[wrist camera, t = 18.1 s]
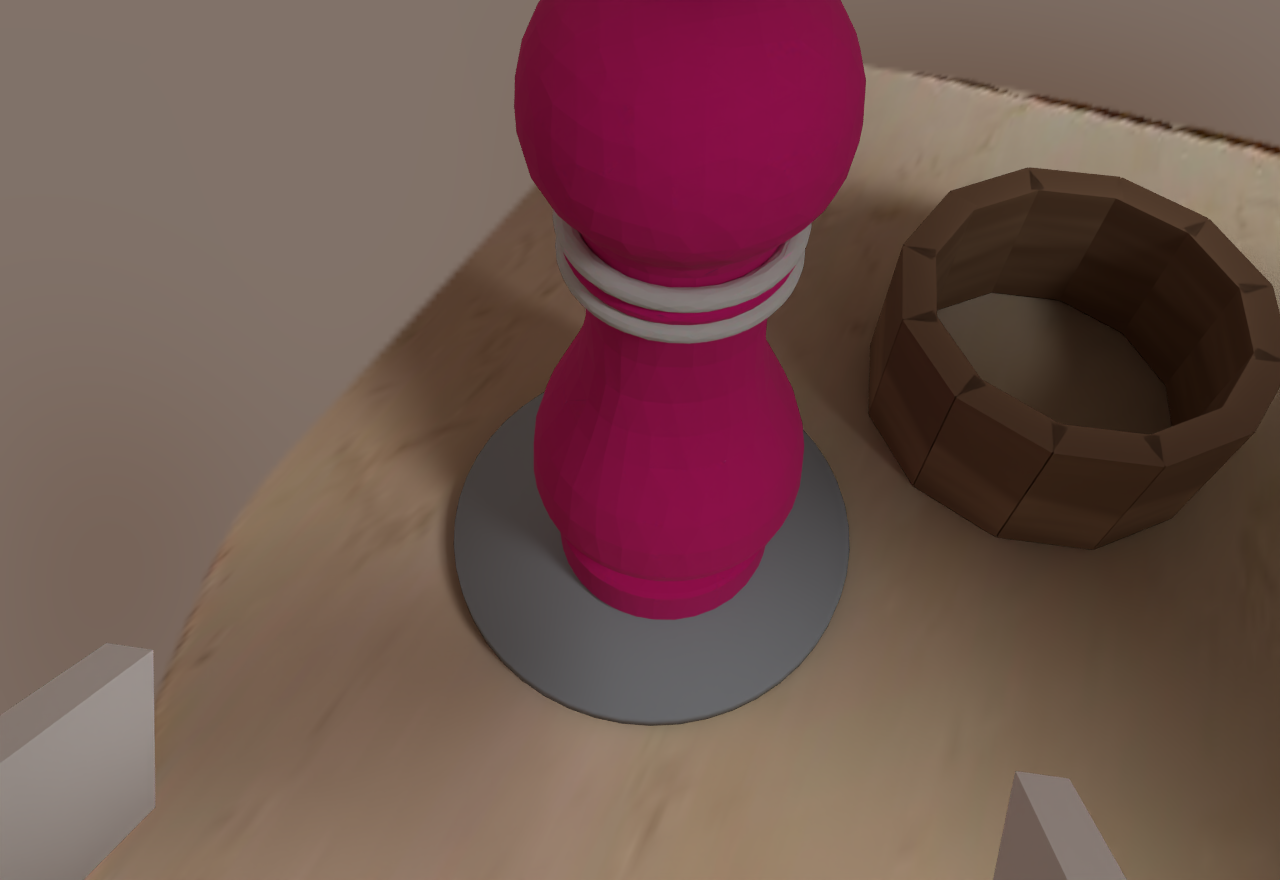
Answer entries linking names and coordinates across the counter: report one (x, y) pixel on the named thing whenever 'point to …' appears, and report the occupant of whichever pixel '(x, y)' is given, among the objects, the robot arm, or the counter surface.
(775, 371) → the pepper mill
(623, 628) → the coaster
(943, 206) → the brown wooden bowl
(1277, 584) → the counter surface
